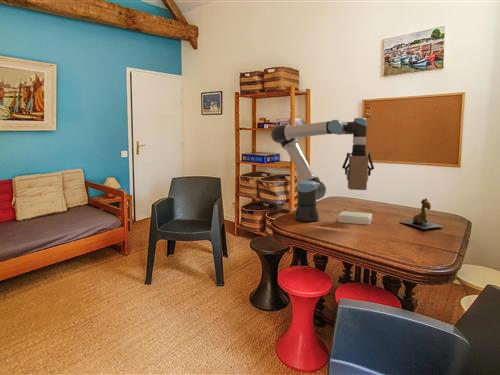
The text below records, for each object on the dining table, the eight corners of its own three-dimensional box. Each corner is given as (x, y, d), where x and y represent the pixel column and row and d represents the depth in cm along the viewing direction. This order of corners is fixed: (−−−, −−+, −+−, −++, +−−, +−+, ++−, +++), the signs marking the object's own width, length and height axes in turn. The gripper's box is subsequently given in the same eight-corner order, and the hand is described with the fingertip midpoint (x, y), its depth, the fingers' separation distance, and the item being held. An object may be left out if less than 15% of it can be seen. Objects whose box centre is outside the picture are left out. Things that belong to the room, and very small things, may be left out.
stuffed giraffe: (423, 229, 187) (424, 200, 186) (398, 223, 204) (399, 196, 202) (444, 227, 193) (446, 199, 191) (418, 221, 210) (419, 195, 208)
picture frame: (337, 222, 203) (338, 215, 203) (342, 217, 220) (342, 210, 219) (369, 224, 196) (369, 218, 196) (372, 219, 212) (372, 213, 212)
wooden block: (349, 189, 202) (350, 155, 200) (347, 187, 212) (349, 155, 209) (366, 190, 200) (368, 156, 198) (364, 188, 210) (366, 156, 208)
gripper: (338, 143, 204) (336, 180, 207) (379, 144, 195) (377, 182, 197) (340, 144, 211) (338, 179, 213) (380, 144, 202) (378, 181, 204)
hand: (357, 180), depth 205 cm, fingers closed on wooden block, 11 cm apart
